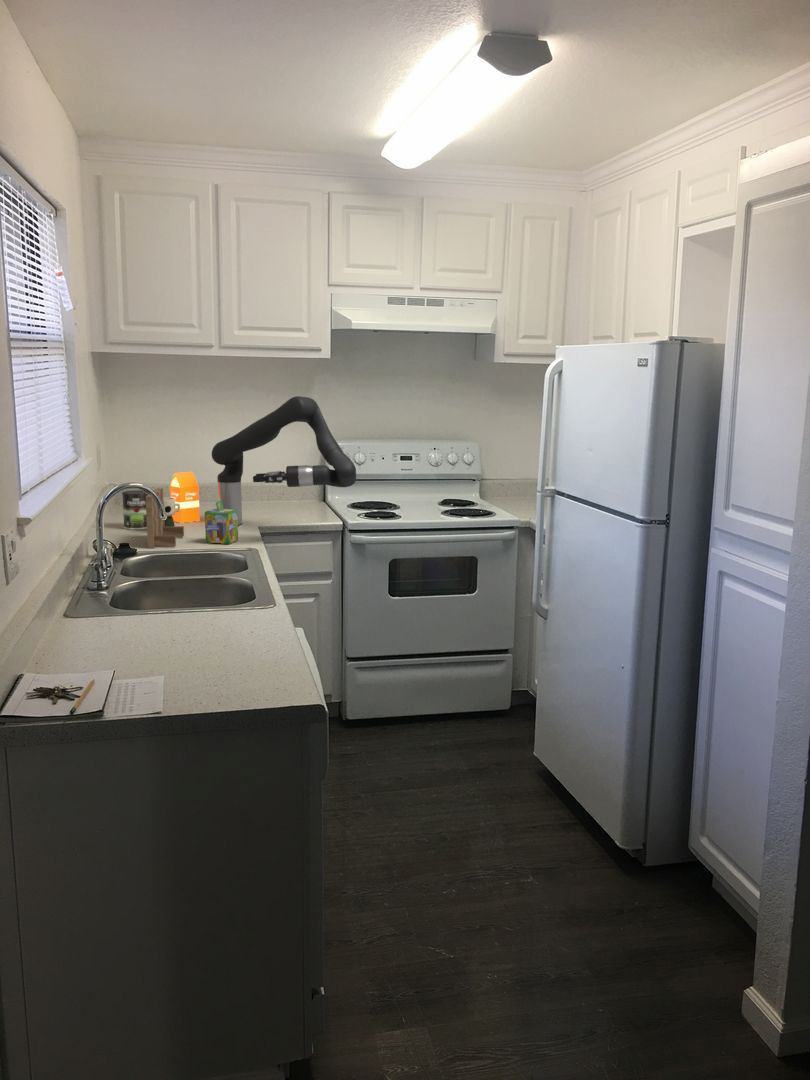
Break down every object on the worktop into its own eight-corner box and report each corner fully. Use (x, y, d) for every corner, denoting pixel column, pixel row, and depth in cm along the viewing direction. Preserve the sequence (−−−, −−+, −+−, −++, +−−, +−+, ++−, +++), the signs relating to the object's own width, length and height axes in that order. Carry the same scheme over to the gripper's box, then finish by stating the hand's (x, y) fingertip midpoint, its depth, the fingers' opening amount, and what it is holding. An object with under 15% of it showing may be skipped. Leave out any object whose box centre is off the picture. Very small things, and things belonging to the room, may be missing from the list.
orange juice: (170, 521, 354) (168, 472, 350) (189, 518, 360) (187, 471, 356) (181, 523, 348) (179, 474, 345) (200, 521, 355) (198, 472, 351)
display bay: (159, 536, 320) (157, 488, 316) (184, 536, 320) (182, 488, 317) (147, 548, 298) (145, 496, 295) (174, 548, 299) (172, 496, 296)
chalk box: (229, 545, 306) (228, 503, 303) (204, 543, 307) (203, 502, 305) (239, 540, 315) (238, 500, 312) (215, 539, 316) (214, 499, 314)
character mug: (149, 534, 325) (148, 499, 322) (154, 530, 332) (153, 497, 329) (178, 534, 325) (177, 500, 323) (183, 531, 332) (182, 497, 330)
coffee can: (151, 529, 334) (149, 493, 332) (123, 530, 332) (121, 493, 329) (151, 525, 344) (150, 489, 342) (124, 526, 342) (122, 490, 339)
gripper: (300, 463, 315) (255, 465, 314) (298, 467, 301) (251, 469, 300) (301, 484, 316) (257, 486, 315) (299, 488, 302) (252, 490, 301)
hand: (254, 478), depth 307 cm, fingers open, 8 cm apart
